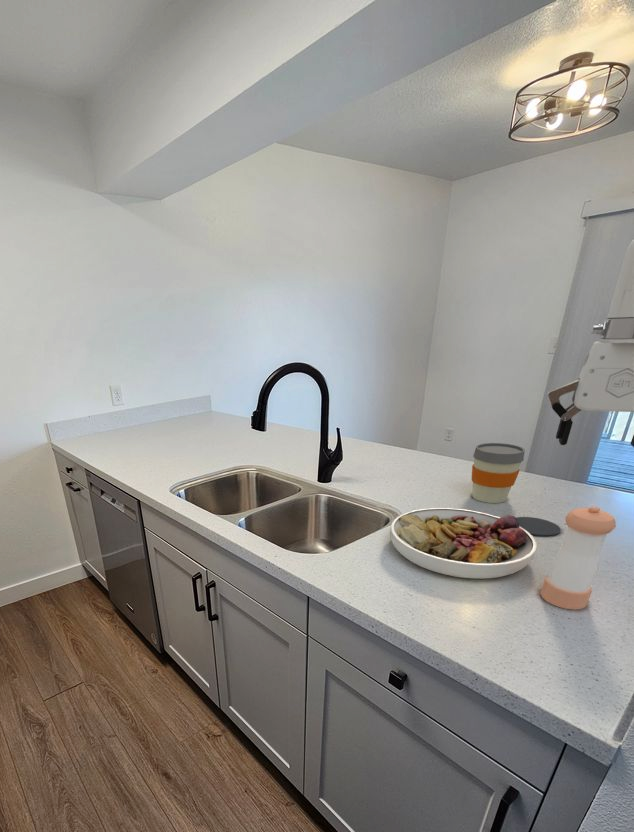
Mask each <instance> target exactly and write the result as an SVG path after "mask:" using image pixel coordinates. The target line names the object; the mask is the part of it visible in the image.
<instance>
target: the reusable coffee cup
mask: <svg viewBox="0 0 634 832" xmlns="http://www.w3.org/2000/svg"><path fill="white" fill-rule="evenodd" d="M525 451H526V450H525V448H523V447H522V446H519V445H516V444H510V443H502V442H485V443H479V444H477V445H476V446H475V449H474V452H473V458H474V459H473V464H472V465H471V482H472V492H471V497H472V498H473V499H474V500H476V501H479V502H483V503H489V504H499V503H504V502H506V501H507V498H508V496H509V493H510V491H511V489H512V487H513V486H514V485H515V483H516V480H517V478H518V475H519V473H520V471H521V468H520V466H521V464H522V462H523V461H524V459H525Z"/></svg>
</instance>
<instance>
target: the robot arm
mask: <svg viewBox="0 0 634 832" xmlns="http://www.w3.org/2000/svg"><path fill="white" fill-rule="evenodd" d="M608 308H609V309H608V312H607V316H606V318H605V319H604V320H603V321H602V322H599V323H593V324H592V326H591V328H590V329H591V330H590V334H594V335H595V334H596V335H598V336H599V338H600V339H599V340H598V341H594V342H593V344H592V345H591V348H590V350H589V351H588V354H587V356H586V358H585V360H584V363H583V365H582V367H581V369H580V372H579V375H578V378H577V380H574V381H571V382H568V383H566V384H564V385H561V386H558V387H556V388H554V389H551V390H549V391H548V392H547V394H546V395H547V398H548V401H549V403H550V406H551V409H552V410H553V411H554V412H555V414H557V416H558V417H559V418H560V420H559V423H558V426H557V431H556V435H555V439H557V440H558V443H559V444H560V446H566V445H567V443H568V440H569V437H570V433H571V430H572V427H573V424H574V423H573V422H574V421H573V420H572V418H573V417H574V416H576V415H577V414H578V413H580V412H581V411H586V412H588V411H590V412H613V413H614V412H615V413H616V412H618V413H619V412H620V413H621V412H622V413H634V238H633V239H632V240H631V241H630V243H629V244H628V246H627V248H626V251H625V254H624V258H623V261H622V265H621V268H620V271H619V275H618V278H617V281H616V285H615V288H614V292H613V294H612V298H611V302H610V305H609V307H608ZM572 392H573V393H572ZM569 393H572V398H571V399H572V400H571V403H569V405H567V406H566V407H564V406H563V405H562V404H561V400H560V397H562V396H564V395H566V394H569ZM630 446H632V448H634V434H633V435H632V438H631V441H630Z"/></svg>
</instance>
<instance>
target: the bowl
mask: <svg viewBox="0 0 634 832" xmlns="http://www.w3.org/2000/svg"><path fill="white" fill-rule="evenodd" d="M516 518H517V517H516V516H514V515H504V516H502V517H501V516H496V515H493V514H489V513H486V512H481V511H476V510H470V509H464V508H451V507H430V508H429V507H427V508H420V509H415V510H414V509H413V510H411V511H407V512H404V513H402V514H400V515H398V516H396V517H395V518H394V520H393V521H392V522H391V524H390V529H389V532H390V533H389V534H390V541H391V542H392V545H393V546H394V548H395V549H396V550H397V552H399V553H400V555H401V556H403V557H404V558H405V559H407V560H408V561H409V562H411V563H413V564H415V565H416V566H419V567H421V568H424V569H426V570H429V571H431V572H435V573H437V574H441V575H445V576H450V577H456V578H462V579H463V578H465V579H479V580H480V579H482V580H483V579H495V578H496V579H497V578H501V577H505V576H510V575H512V574H514V573H517V572H519V571H522V569H524V568H525V567H526V566H528V565H529V564H530V563H531V562H532V560H534V557H535V555H536V553H537V548H538V543H537V540H536V539H535V538H534V535H531V534H530V533H529V532H527V531H526V530H525V529H523V528H522V527H520V526H519V522H518V520H517V519H516Z"/></svg>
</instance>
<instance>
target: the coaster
mask: <svg viewBox="0 0 634 832" xmlns="http://www.w3.org/2000/svg"><path fill="white" fill-rule="evenodd" d="M516 519H517V520H518V522H519V526H520V527H522V528H523V529H525V530H526V531H527V532H529V533H530V534H531V535H532V536H533V537H534V536H535V537H553V536H557V535H559V534H560V533H561V527H560V526H559V525H558V524H556V523H554V522H552V521H549V520H546V519H543V518H539V517H530V516H517V517H516Z"/></svg>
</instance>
